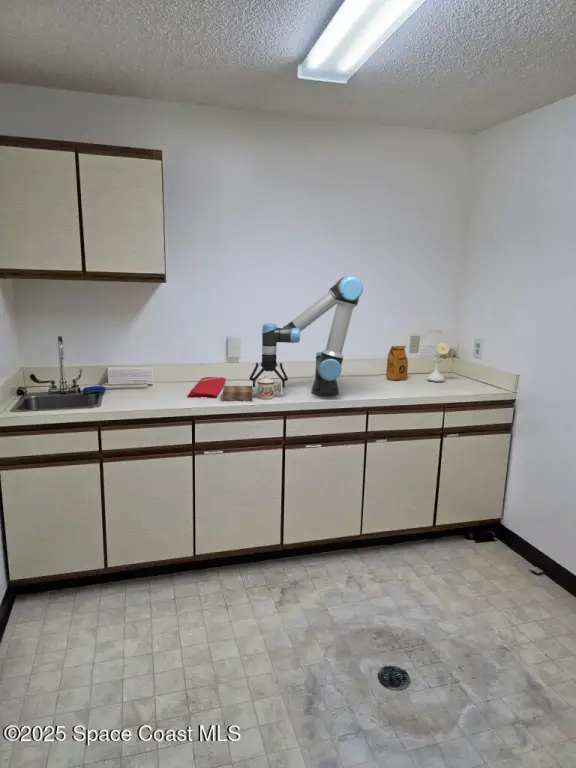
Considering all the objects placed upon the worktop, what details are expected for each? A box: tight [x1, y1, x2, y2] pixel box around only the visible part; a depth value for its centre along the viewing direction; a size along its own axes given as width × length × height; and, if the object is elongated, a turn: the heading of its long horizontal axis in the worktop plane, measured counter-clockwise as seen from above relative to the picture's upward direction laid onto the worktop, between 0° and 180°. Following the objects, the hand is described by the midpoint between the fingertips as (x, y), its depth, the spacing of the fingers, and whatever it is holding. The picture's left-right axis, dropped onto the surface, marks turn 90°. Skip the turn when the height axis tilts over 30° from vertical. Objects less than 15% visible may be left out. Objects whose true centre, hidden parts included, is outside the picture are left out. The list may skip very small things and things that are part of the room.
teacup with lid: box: [257, 375, 281, 400], centre depth 269 cm, size 12×9×12 cm
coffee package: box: [385, 345, 409, 381], centre depth 325 cm, size 10×12×22 cm
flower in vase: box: [426, 342, 451, 383], centre depth 323 cm, size 13×11×25 cm
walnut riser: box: [222, 385, 254, 403], centre depth 266 cm, size 15×15×5 cm
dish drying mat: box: [186, 376, 227, 399], centre depth 285 cm, size 16×41×4 cm, turn 0°
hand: (268, 393), depth 270 cm, fingers open, 13 cm apart
